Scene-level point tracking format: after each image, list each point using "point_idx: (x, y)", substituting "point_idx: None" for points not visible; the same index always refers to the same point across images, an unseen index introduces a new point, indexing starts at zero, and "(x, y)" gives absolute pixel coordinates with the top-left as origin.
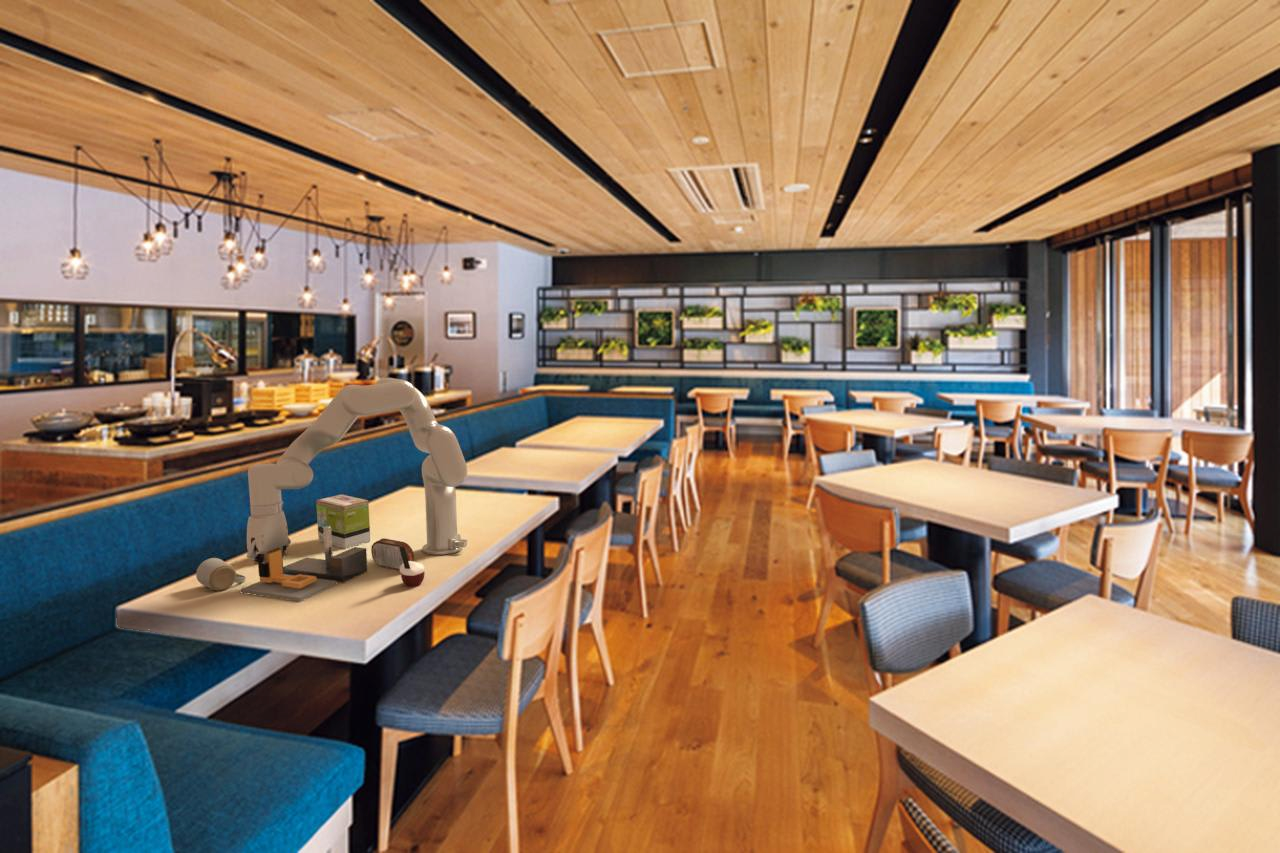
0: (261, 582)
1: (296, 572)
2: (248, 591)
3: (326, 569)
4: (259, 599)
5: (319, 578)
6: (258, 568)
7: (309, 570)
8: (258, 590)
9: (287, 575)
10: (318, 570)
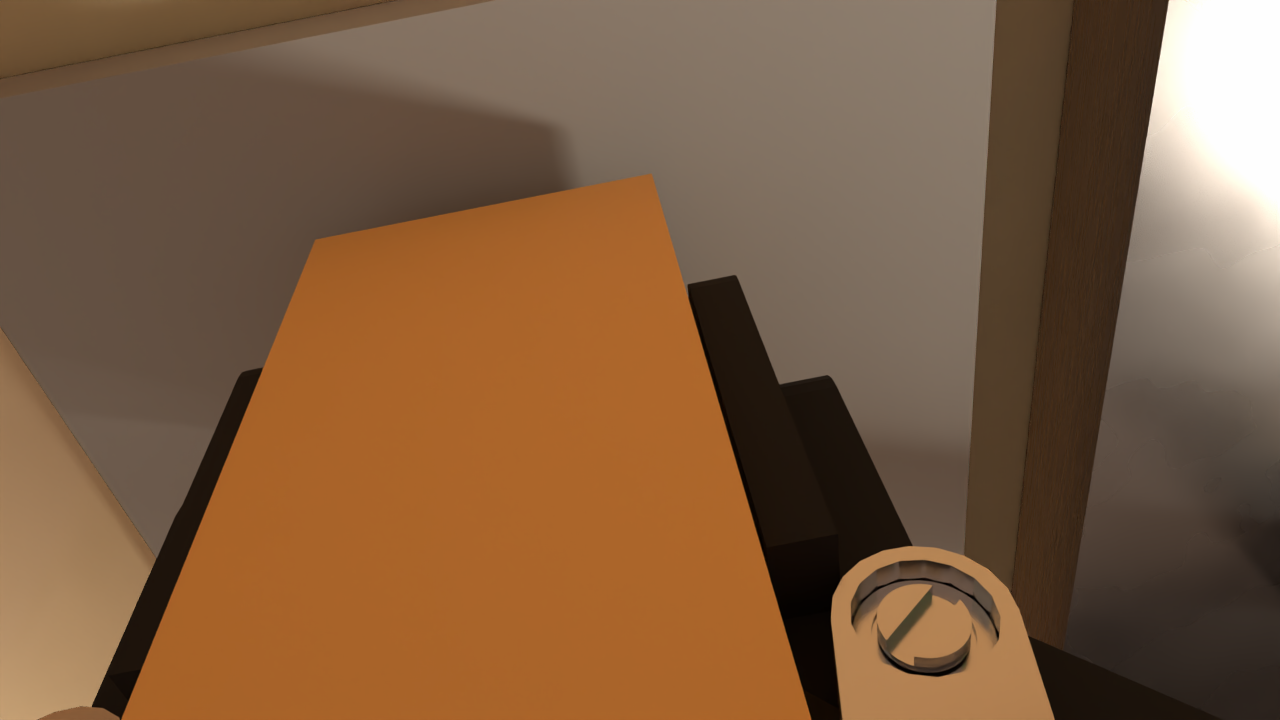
0: (404, 124)
1: (1095, 262)
2: (14, 316)
3: (1232, 617)
4: (101, 593)
5: (1023, 591)
6: (184, 504)
7: (1148, 480)
8: (154, 467)
9: (941, 206)
10: (1170, 576)
